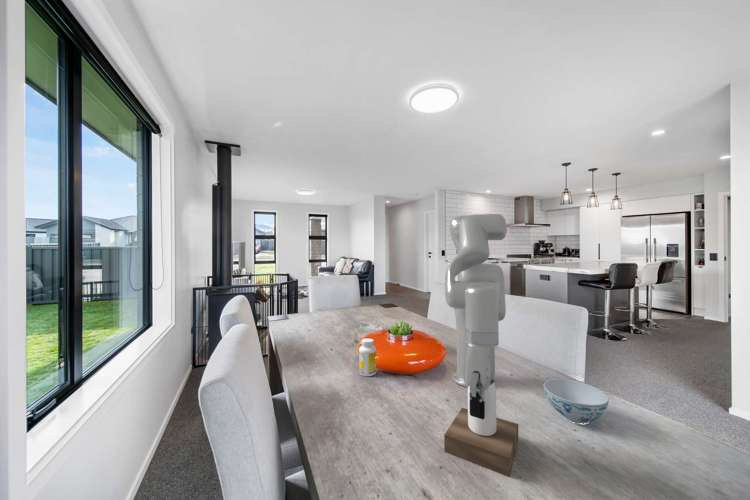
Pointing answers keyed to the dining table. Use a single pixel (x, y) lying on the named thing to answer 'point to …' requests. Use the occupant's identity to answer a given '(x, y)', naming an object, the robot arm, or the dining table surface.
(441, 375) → the dining table surface
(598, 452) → the dining table surface
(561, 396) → the chinaware
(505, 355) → the dining table surface
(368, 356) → the supplement bottle
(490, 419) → the can
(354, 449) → the dining table surface
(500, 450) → the base
